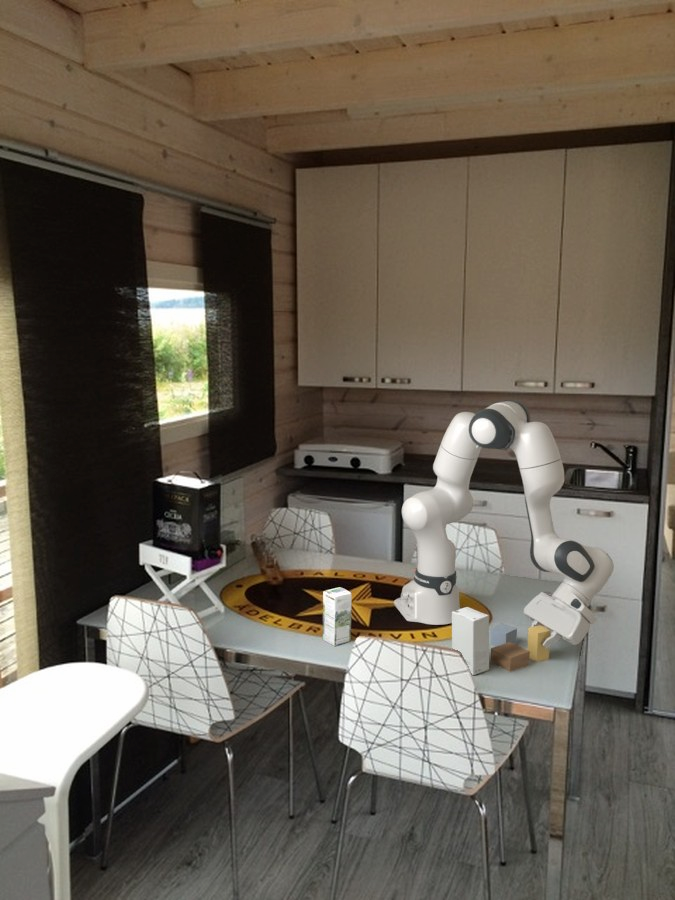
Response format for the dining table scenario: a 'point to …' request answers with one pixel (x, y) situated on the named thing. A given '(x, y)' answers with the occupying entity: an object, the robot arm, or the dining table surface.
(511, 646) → the walnut block
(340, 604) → the syrup box
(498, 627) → the slate cube
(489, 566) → the dining table surface
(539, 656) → the ochre post
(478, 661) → the skincare box
